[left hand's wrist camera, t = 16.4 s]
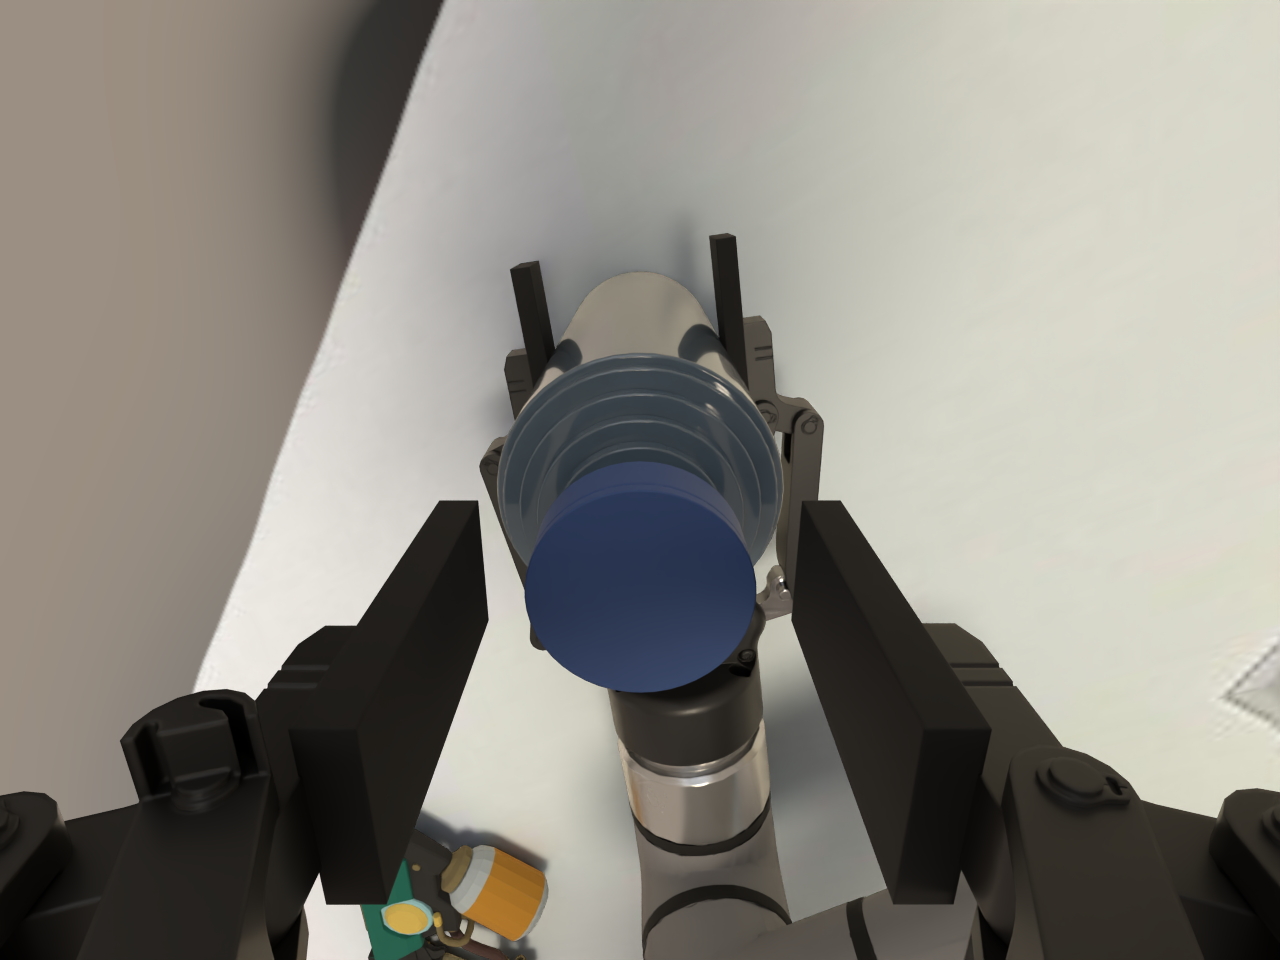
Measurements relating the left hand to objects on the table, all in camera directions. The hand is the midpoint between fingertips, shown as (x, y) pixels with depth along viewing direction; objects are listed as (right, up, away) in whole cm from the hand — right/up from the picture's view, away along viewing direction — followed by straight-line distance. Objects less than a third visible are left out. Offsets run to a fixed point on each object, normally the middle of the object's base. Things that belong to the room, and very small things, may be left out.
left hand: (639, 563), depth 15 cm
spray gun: (-13, -28, +36) cm, 47 cm away
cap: (0, 0, -1) cm, 1 cm away
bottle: (0, +8, +22) cm, 23 cm away
